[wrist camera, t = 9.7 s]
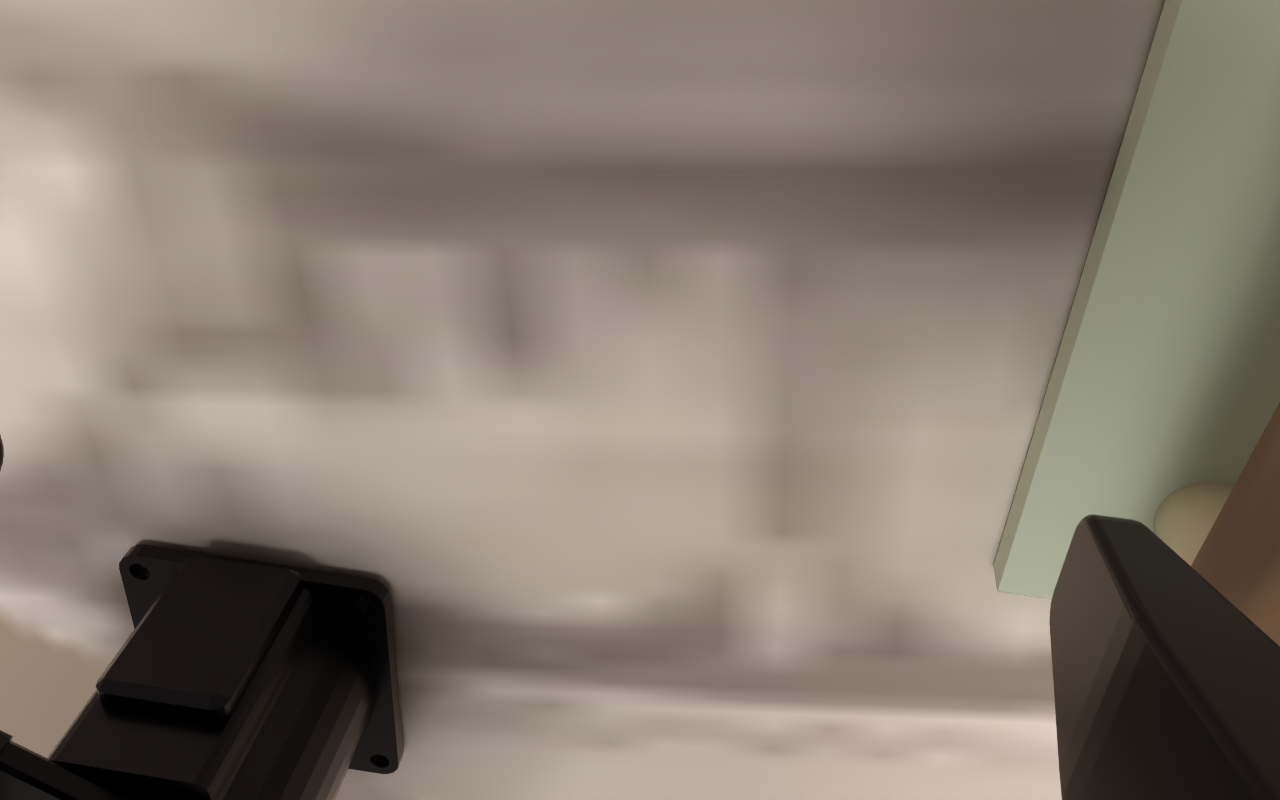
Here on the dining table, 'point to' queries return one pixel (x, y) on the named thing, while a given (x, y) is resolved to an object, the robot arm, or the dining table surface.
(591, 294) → the dining table surface
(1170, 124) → the strip
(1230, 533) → the brown rectangular block
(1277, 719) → the robot arm
